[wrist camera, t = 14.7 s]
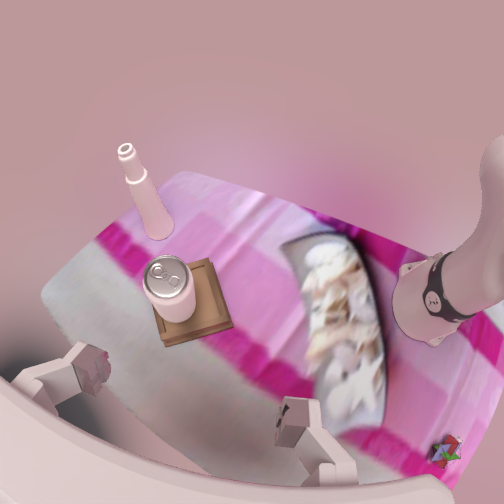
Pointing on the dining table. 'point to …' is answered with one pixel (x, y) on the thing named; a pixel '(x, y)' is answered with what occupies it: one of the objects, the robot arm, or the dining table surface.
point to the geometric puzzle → (446, 451)
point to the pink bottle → (145, 195)
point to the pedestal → (199, 309)
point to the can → (170, 288)
